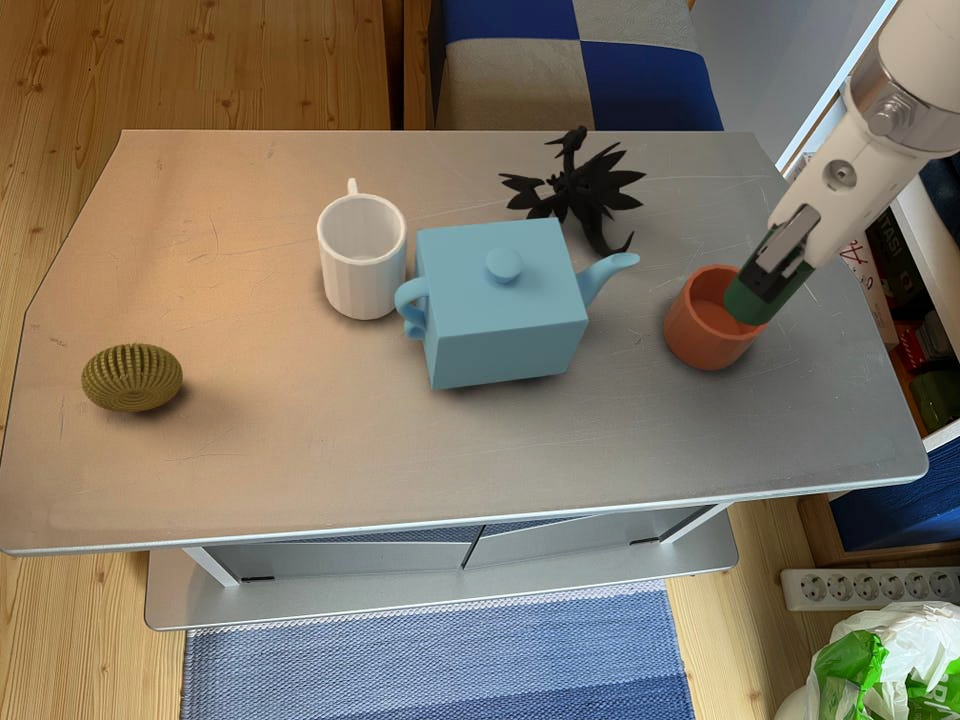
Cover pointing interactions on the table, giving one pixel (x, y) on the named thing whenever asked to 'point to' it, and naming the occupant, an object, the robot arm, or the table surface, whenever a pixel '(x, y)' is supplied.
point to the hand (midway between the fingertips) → (775, 271)
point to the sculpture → (132, 377)
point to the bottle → (749, 305)
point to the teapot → (499, 300)
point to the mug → (362, 253)
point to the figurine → (579, 190)
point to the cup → (707, 321)
